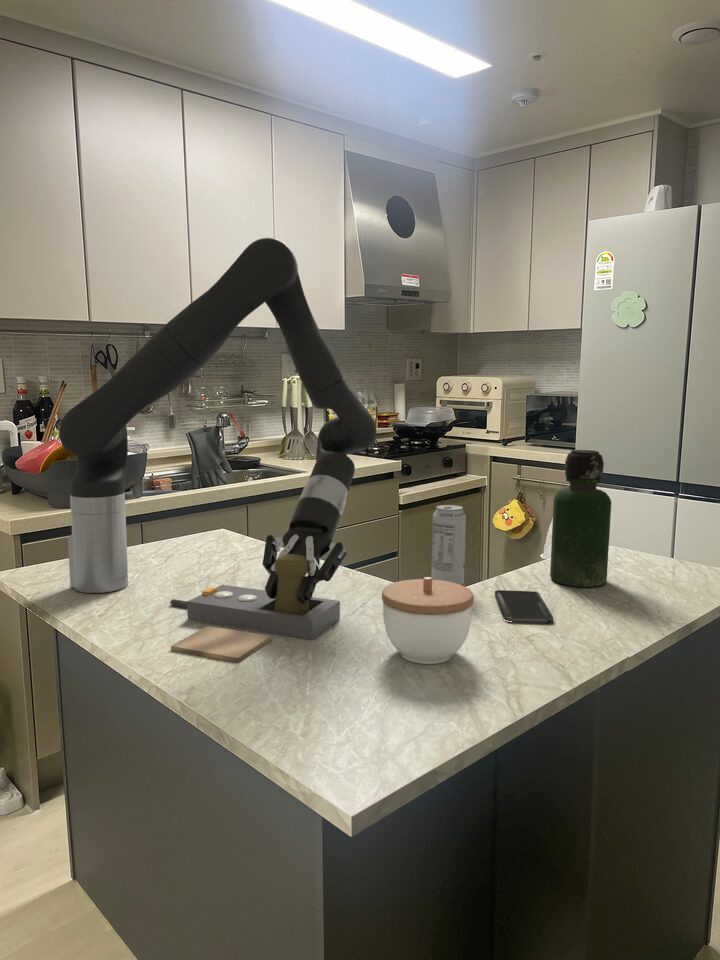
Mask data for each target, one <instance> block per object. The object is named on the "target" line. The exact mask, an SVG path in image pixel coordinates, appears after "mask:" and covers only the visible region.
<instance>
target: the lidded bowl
mask: <svg viewBox="0 0 720 960" xmlns="http://www.w3.org/2000/svg"><path fill="white" fill-rule="evenodd" d="M474 596H475V595H474V593H473V591H472V590H471V589H470V588H469V587H466V586H465V585H463V584H462V585H460V584H456V583H453V582H448V581H442V580H432V578H431V576H424V577H423V578H417V579H416V578H414V579H413V578H412V579H405V580H399V581H396V582H392V583H390V584H388V585H386V586H384V587H383V589H382V591H381V600H382V617H383V625H384V629H385V633H386V636H387V638H388V639H389V642H390V643H391V644H392V646H393V647H394V648H395V649H396V650H397V651H398V652H399V653H400V656H401V657H402V658H403V659H404V660H406V661H408V662H411V663H415V664H420V665H438V664H439V665H440V664H443V663H447V662H449V661H450V660H451V659H452V657H453V655H455V654H456V653H457V652H458V651H459V650H460V649H461V648H462V646H463V645H464V643H465V642H466V640H467V638H468V635H469V633H470V629H471V623H472V620H473V619H472V618H473V605H474Z"/></svg>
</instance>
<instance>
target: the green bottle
mask: <svg viewBox="0 0 720 960" xmlns="http://www.w3.org/2000/svg"><path fill="white" fill-rule="evenodd" d="M566 455H567V456H566V458H565V461H564V462H565V463H564V476H565V477H566V478H565V481H566V482H568V483H569V487H566V488H562V489H560V490H559V491H558V492H556V494H555V495H554V498H553V503H552V504H553V506H552V507H553V508H552V509H553V510H552V527H551V528H552V529H551V549H550V551H551V552H550V565H549V566H550V569H549V577H550V578H551V579H552V580H553V581H554V582H555V583H559V584H561V585H565V586H569V587H575V588H576V587H577V588H593V587H600V586H602V585H605V584H606V583H607V581H608V563H609V549H610V533H611V519H612V518H611V515H612V514H611V513H612V500H611V497H610V496H609V495H608V494H607V492H605V491H604V490H602V489H598V488H597V486H598V484H600V483H601V482H602V478H604V477H603V476H604V474H603V473H604V468H605V467H604V466H605V463H604V458H603V455H602V454H600V451H598V450H587V449H575V450H573V449H572V450H570V452H569V453H568V454H566Z"/></svg>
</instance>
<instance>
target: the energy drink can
mask: <svg viewBox="0 0 720 960" xmlns="http://www.w3.org/2000/svg"><path fill="white" fill-rule="evenodd" d="M466 524H467V516H466V514H465V511H464V507H463V506H461V505H456V504H441V505H436V509H435V511H434V513H433V514H432V532H431V533H432V537H431V538H432V539H431V540H432V541H431V572H430V573H431V576H430V577H431V578H432V580H442V581H448V582H453V583H456V584H460V585H462V586H463V584H464V583H465V560H466V558H465V557H466Z"/></svg>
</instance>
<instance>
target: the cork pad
mask: <svg viewBox="0 0 720 960" xmlns="http://www.w3.org/2000/svg"><path fill="white" fill-rule="evenodd" d="M270 641H272V636H271V635H266V634H261V633H254V632H249V631H241V630H236V629H235V630H234V629H229V628H224V627H220V626H219V627H218V626H211V625H206V626H205V627H202V628H201V629H198V631H195V632H194V633H192V634H190V635H188V636H186V637H184V638H183V639H181V640H179V641H178V642H176V643H174V644H172V645H171V646H170V650H171V651H175V652H180V653H186V654H191V655H195V656H201V657H207V658H213V659H218V660H224V661H229V662H234V663H239V662H241V661H242V660H244V659H245V658H247V657H248V656H250V655H251V654H252V653H254V652H255V651H257V650H258V649H260V648H262V647H263V646H264V645H266V644H268V643H269V642H270Z"/></svg>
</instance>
